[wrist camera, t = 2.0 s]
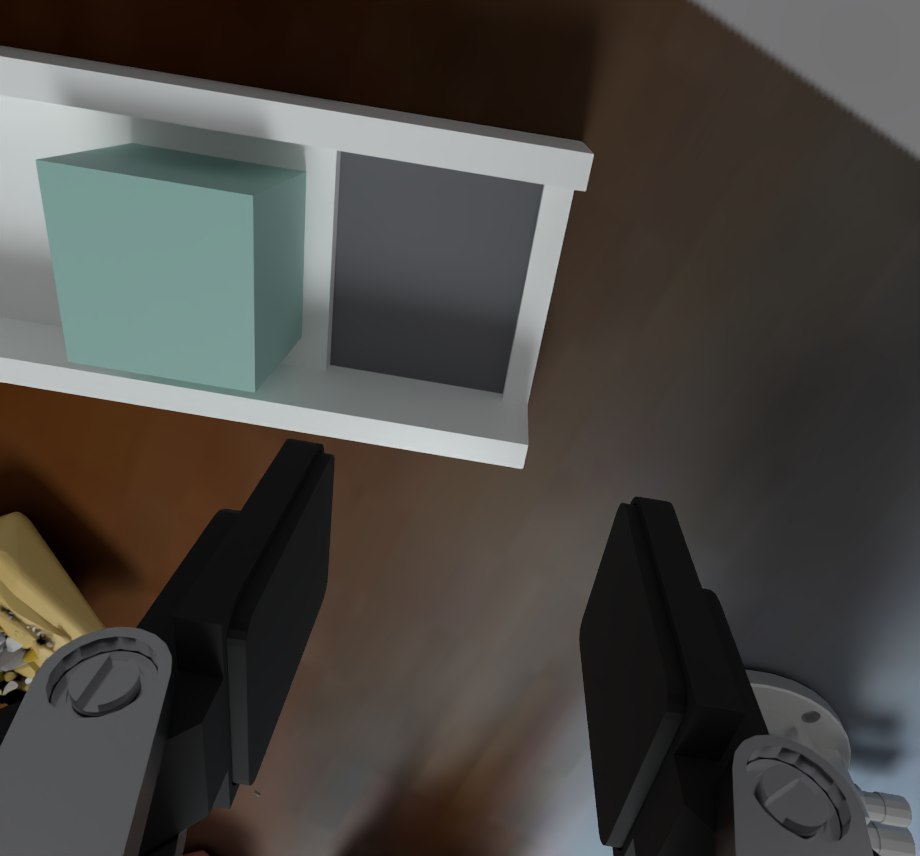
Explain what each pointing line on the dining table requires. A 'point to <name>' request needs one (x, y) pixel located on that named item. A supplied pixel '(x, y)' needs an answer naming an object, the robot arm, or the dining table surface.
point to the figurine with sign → (34, 606)
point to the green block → (176, 262)
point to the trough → (318, 253)
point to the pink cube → (197, 853)
